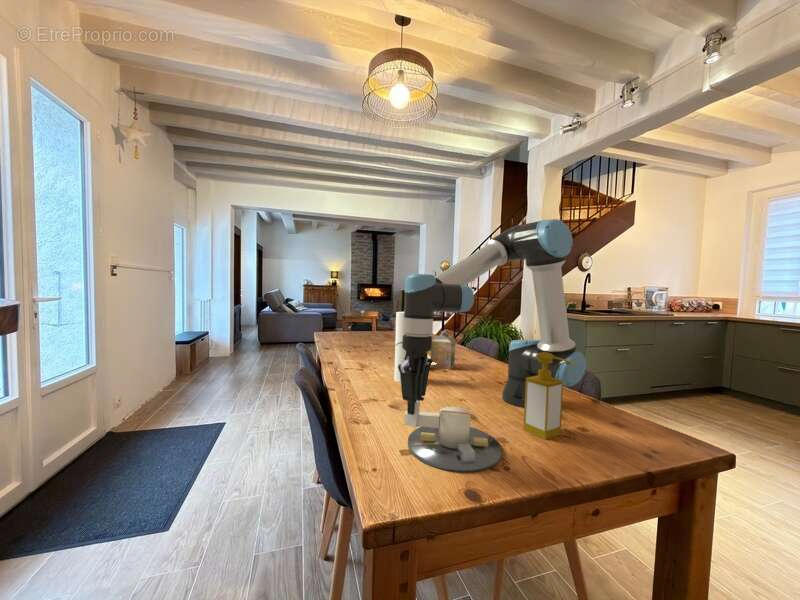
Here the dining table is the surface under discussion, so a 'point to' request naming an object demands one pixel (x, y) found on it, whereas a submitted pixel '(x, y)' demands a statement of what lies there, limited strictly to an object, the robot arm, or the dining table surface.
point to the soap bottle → (543, 401)
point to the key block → (449, 427)
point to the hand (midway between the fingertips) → (412, 425)
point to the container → (399, 345)
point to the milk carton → (443, 351)
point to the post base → (455, 452)
